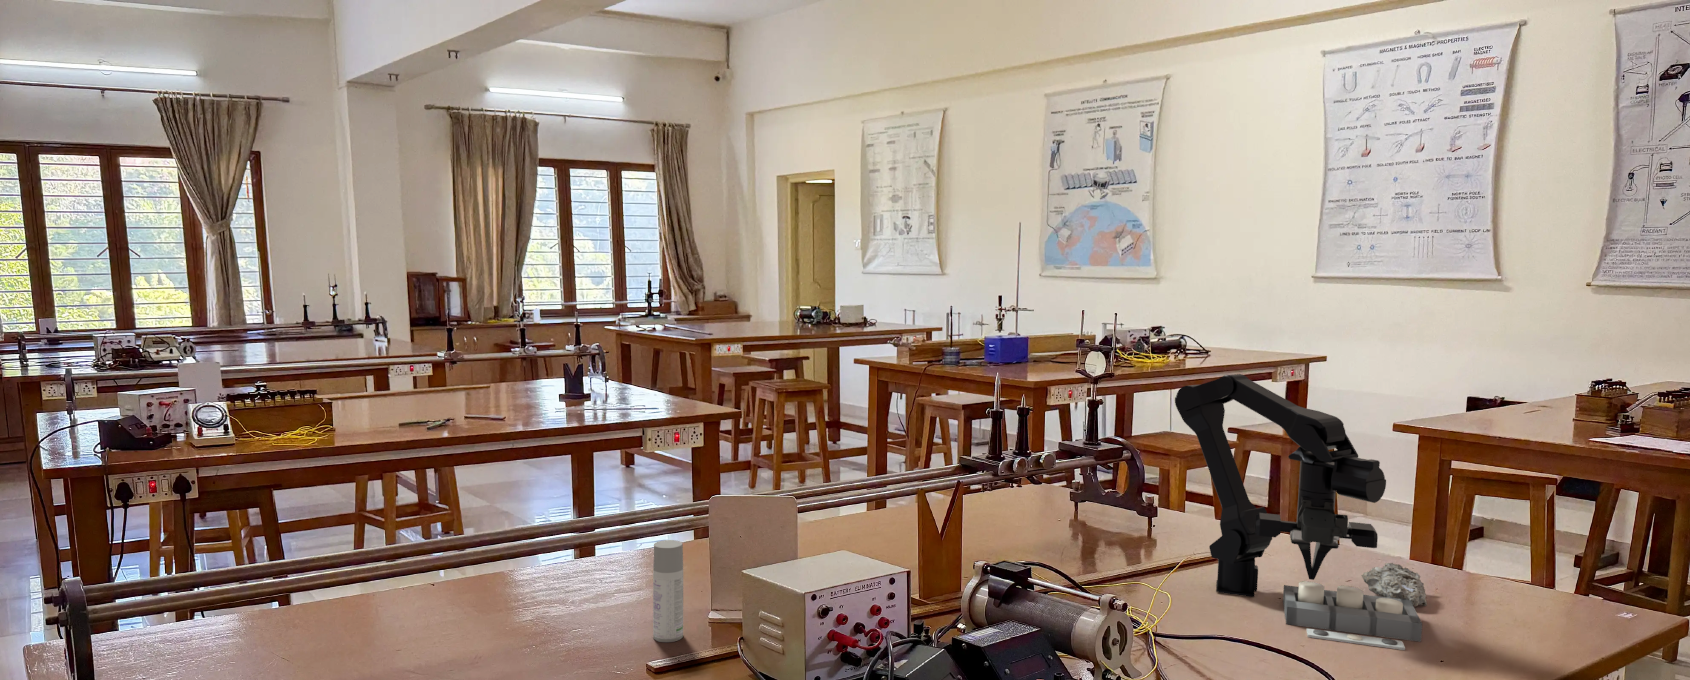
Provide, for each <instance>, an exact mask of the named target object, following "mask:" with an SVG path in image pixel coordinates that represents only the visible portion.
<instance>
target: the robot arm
mask: <svg viewBox="0 0 1690 680" xmlns="http://www.w3.org/2000/svg"><path fill="white" fill-rule="evenodd" d="M1231 401H1235V402H1237V403H1239V404H1240V405H1242V406H1244V407H1245V408H1248V409H1249V410H1251V411H1253V412H1255V413H1257V414H1258V415H1260V416H1262V417H1264V418H1266V419H1267V420H1269V421H1271V422H1272V423H1273V424H1274V423H1275V424H1276V425H1277V426H1279V427H1281V428H1282V429H1283V430H1284V432H1285V433H1286V434H1287V436H1288V438H1289V439H1290V440H1292V442H1294V443H1296V445H1298V448H1297V449H1296V450H1295V451H1293V452H1292V453H1291V454H1288V457H1287V458H1288V459H1289V460H1293V461H1298V462H1299V463H1300V464H1299V476H1298V477H1299V480H1298V495H1297V509H1296V510H1297V511H1296V521H1290V520H1289V521H1288V520H1281V515H1280V514H1276V513H1275V514H1274V513H1268V512H1267V509H1266V508H1265V507H1264V506H1261V507H1256V506H1255V504H1253V502H1251V501H1250V499H1249V495H1248V493H1247V491H1246V487H1245V485H1244V483H1243V480H1242V477H1241V474H1240V471H1239V469H1238V465H1237V463H1236V460H1235V457H1234V455H1233V452H1232V449H1231V446H1230V443H1229V441H1228V438H1227V436H1226V435H1227V434H1226V433H1225V430H1224V427H1223V426H1224V419H1225V413H1226V412H1225V411H1226V409H1225V406H1224V404H1227V403H1229V402H1231ZM1174 405H1175V407H1176V409H1177V411H1178V413H1179V415H1180V417H1181V419H1182V421H1183V422H1184V423H1185V425H1186V426H1188V427H1189V429H1191V430H1192V431H1193V432H1194V433H1195V435H1196V437H1197V440H1198V443H1199V446H1200V449H1201V451H1202V454H1203V458H1204V460H1205V463H1206V466H1207V469H1208V471H1209V475H1210V477H1211V480H1212V484H1213V486H1214V489H1215V491H1216V494H1217V497H1218V500H1219V503H1220V505H1221V512H1220V513H1221V514H1220V515H1221V516H1220V519H1219V521H1220V522H1219V528H1220V534H1221V536H1220V537H1219V538H1217V539H1216V540H1215V541H1213V542H1212V543H1211V544H1210V545H1209V551H1210V556H1211V558H1213V559H1216V560H1217V561H1218V562H1217V577H1216V579H1217V580H1216V581H1215V582H1216V583H1215V584H1216V585H1215V587H1216V589H1215V592H1216V593H1219V594H1226V595H1227V594H1228V595H1235V596H1242V597H1243V596H1244V597H1252V598H1254V597H1255V592H1257V591H1258V582H1259V581H1258V579H1259V577H1258V576H1259V566H1258V565H1257V564H1256V558H1262V557H1263V554H1264V552H1265V550H1266V549H1267V548H1268V547H1269V546H1270V544H1271V542H1272V540H1273V538H1277V537H1278V536H1280V534H1281V533H1289V538H1290V543H1291V544H1293V545H1296V546H1297V547H1298V549H1299V550H1300V553H1301V555H1302V558H1303V562H1304V566H1305V569H1306V573H1307V577H1308V580H1312V581H1314V580H1315V579H1316V576H1317V574H1318V573H1319V570H1320V568H1321V565H1322V563H1323V561H1324V560H1325V558H1326V557H1327V555H1328V554H1329V552H1330V551H1331V550H1332V549H1339V547H1340V546H1339V543H1338V541H1339V540H1340V539H1345V540H1346V539H1347V540H1351V543H1352V544H1354V545H1355V547H1360V548H1367V549H1369V548H1370V549H1377V548H1378V538H1379V536H1378V532H1377V530H1376V528H1375V527H1374V526H1373V525H1372V523H1366V522H1365V523H1364V522H1363V523H1362V522H1354V521H1349V517H1348V516H1349V515H1347V514H1338V513H1336V512H1335V508H1336V507H1335V505H1336V494H1337V495H1339V496H1341V497H1346V498H1352V499H1356V500H1359V501H1365V502H1368V503H1374V504H1375V503H1377V502H1379V501H1380V500H1381V499H1382V497H1383V496H1384V494H1385V492H1386V491H1385V489H1386V488H1387V487H1386V486H1387V479H1386V477H1385V474H1384V472H1383V469H1382V468H1380V464H1381V462H1380V460H1377V459H1372V458H1371V459H1367V458H1360V457H1359V454H1358V452H1357V450H1356V449H1355V447H1354V445H1353V444H1352V442H1351V440H1350V437H1348V435H1347V434H1346V429H1345V426H1344V422H1343V421H1342V420H1341V419H1340V418H1339V417H1337V416H1334V415H1331V414H1329V413H1325V412H1323V411H1321V410H1320V411H1319V410H1316V409H1315V410H1314V409H1312V408H1311V409H1310V408H1305V407H1302V406H1299V405H1297V404H1295V403H1293V402H1292V401H1290V400H1288V399H1286V398H1284V397H1283V396H1280V395H1278V394H1277V393H1276V392H1273V391H1271V390H1269V389H1268V388H1266V387H1264V386H1261V385H1260V384H1258V383H1256V382H1254V381H1253V380H1251V379H1249V377H1247V376H1246V375H1245V374H1243V373H1237V374H1235V373H1234V374H1225V375H1223V376H1222V377H1219V378H1216V379H1214V380H1211V381H1208V382H1205V383H1202V384H1201V383H1200V384H1191V385H1184V386H1182V387H1181V388H1179V389H1178V391H1177V392H1176V395H1175V397H1174ZM1311 543H1315V547H1314V553H1313V558H1312V553H1311V552H1312V551H1311Z"/></svg>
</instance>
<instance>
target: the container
mask: <svg viewBox="0 0 1690 680" xmlns="http://www.w3.org/2000/svg"><path fill="white" fill-rule="evenodd" d="M683 548H684V547H683V542H682V541H680V540H675V539H666V540H665V539H663V540H659V541H655V542H654V543H653V562H652V563H653V566H652V569H653V573H652V595H653V596H652V609H653V610H652V611H653V612H652V618H653V619H652V623H653V624H652V625H653V626H652V632H653V633H652V638H653V640H654V641H656V642H659V643H674V642H677V641H680V640H682V639H683V637H684V550H683Z"/></svg>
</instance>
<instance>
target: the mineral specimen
mask: <svg viewBox="0 0 1690 680" xmlns="http://www.w3.org/2000/svg"><path fill="white" fill-rule="evenodd" d="M1361 578H1362V580H1363V582H1364V583H1365V584H1367V586H1368V590H1369V591H1370V592H1372V593H1374V594H1375V595H1377V596H1379V597H1388V598H1396V599H1404V600H1410V601H1411V603H1412V605H1413V607H1418V606H1424V607H1427V604H1428V603H1427V599H1426V597H1427V593H1426V589H1425V587H1424V582H1422V581H1421V575H1420V574H1419V573H1418V572H1414V571H1413V570H1410V569H1409V568H1407V567H1406V566H1405V567H1403V566H1402V565H1401V564H1396V563H1394V562H1386V563H1384V566H1382V567H1380V566H1376V567H1372V568H1371V569H1370V570H1369V571H1367V572H1363V573H1362V574H1361Z"/></svg>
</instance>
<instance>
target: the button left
mask: <svg viewBox="0 0 1690 680" xmlns="http://www.w3.org/2000/svg"><path fill="white" fill-rule="evenodd" d="M1298 587H1299V589H1298V602H1306V603H1314V604H1322V605H1323V601H1324V590H1325V585H1324V584H1322V583H1320V582H1316V581H1309V580H1308V581H1307V580H1304V581H1299V582H1298Z"/></svg>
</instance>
